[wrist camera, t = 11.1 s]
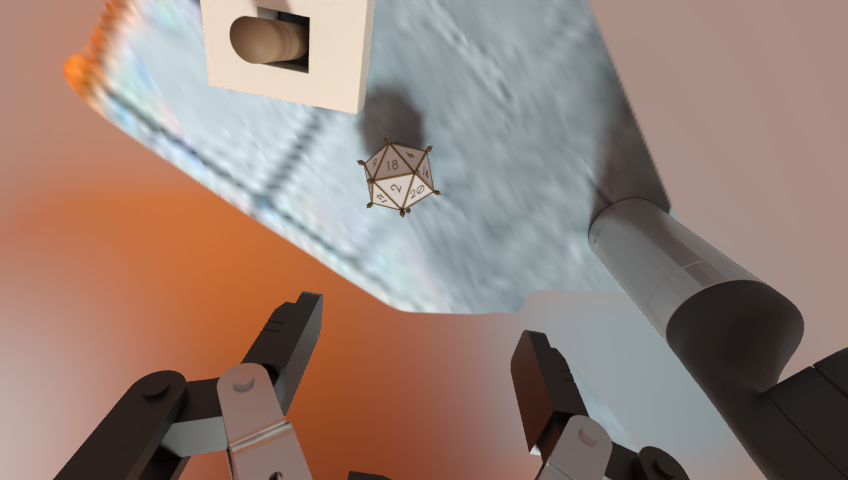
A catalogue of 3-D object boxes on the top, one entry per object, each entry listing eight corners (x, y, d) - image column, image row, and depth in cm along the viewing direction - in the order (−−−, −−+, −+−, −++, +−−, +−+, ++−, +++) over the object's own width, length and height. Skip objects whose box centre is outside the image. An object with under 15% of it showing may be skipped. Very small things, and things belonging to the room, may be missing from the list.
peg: (318, 27, 35) (271, 21, 25) (317, 60, 37) (272, 67, 26) (287, 20, 35) (227, 11, 24) (287, 54, 36) (231, 59, 26)
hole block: (375, -2, 34) (368, -9, 30) (364, 106, 39) (356, 114, 34) (226, -36, 33) (195, -48, 28) (234, 80, 38) (208, 85, 33)
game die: (409, 143, 44) (450, 123, 35) (421, 209, 46) (464, 206, 37) (339, 151, 41) (366, 130, 32) (355, 223, 42) (384, 223, 33)
